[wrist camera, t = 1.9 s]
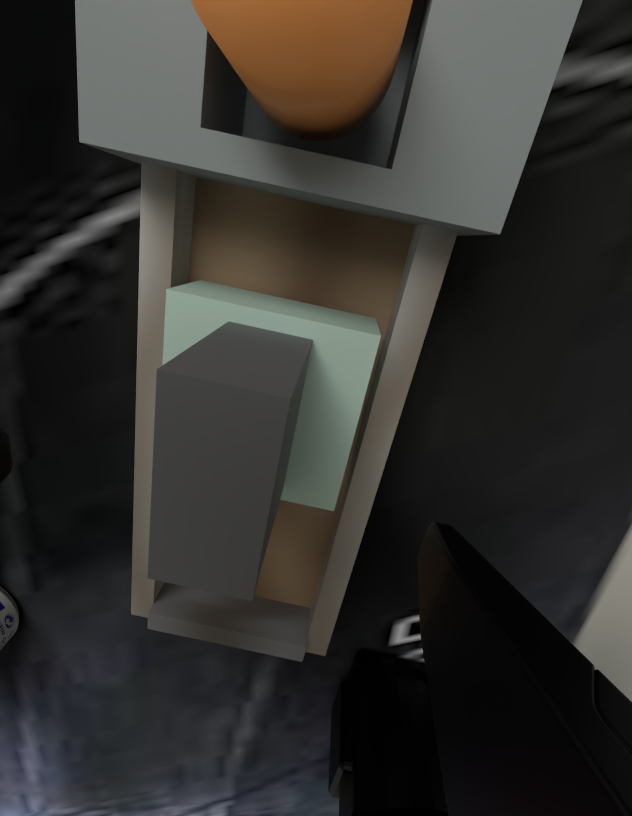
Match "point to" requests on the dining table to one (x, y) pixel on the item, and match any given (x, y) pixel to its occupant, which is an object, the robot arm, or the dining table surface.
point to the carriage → (247, 426)
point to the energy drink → (7, 617)
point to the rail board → (386, 393)
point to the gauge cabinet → (355, 152)
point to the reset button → (311, 57)
